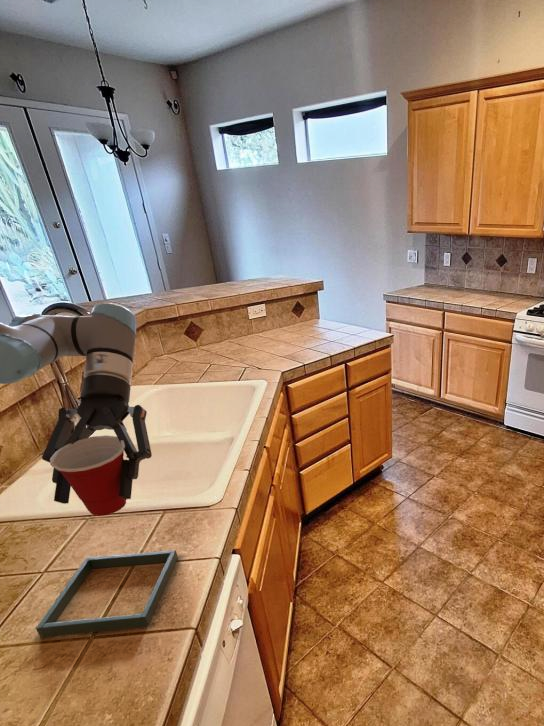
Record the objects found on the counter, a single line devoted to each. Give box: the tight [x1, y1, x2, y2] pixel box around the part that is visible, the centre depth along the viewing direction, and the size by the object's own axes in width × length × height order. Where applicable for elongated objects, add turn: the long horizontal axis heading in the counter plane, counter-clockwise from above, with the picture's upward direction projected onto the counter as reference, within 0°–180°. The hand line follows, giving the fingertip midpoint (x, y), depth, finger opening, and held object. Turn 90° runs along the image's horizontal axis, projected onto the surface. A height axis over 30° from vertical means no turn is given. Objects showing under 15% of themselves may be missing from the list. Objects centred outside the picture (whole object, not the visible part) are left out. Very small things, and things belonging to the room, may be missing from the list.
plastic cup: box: [49, 434, 128, 517], centre depth 75 cm, size 11×11×12 cm
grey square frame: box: [35, 549, 179, 638], centre depth 74 cm, size 16×16×3 cm
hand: (93, 499), depth 74 cm, fingers closed on plastic cup, 9 cm apart
